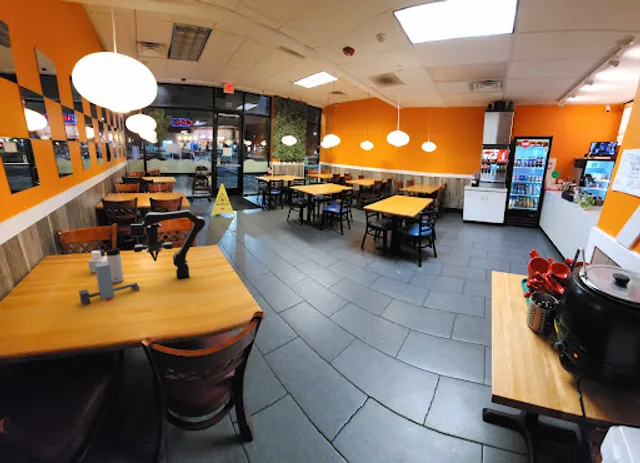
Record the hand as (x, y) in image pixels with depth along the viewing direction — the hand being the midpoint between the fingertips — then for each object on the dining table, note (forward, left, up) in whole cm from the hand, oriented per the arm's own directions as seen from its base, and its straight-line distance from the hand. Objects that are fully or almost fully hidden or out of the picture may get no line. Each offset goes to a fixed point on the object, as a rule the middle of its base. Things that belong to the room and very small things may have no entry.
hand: (155, 261), depth 166 cm
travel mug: (+20, -6, -12) cm, 24 cm away
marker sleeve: (+22, +13, -12) cm, 29 cm away
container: (+31, -28, -12) cm, 44 cm away
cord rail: (+21, +13, -12) cm, 27 cm away
